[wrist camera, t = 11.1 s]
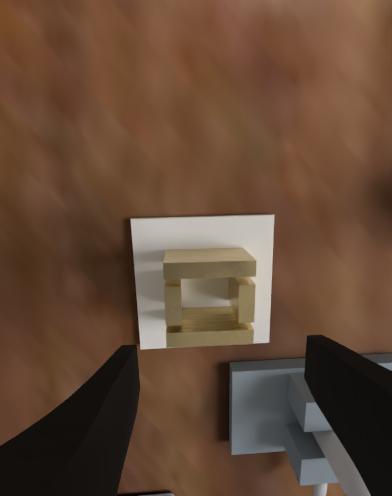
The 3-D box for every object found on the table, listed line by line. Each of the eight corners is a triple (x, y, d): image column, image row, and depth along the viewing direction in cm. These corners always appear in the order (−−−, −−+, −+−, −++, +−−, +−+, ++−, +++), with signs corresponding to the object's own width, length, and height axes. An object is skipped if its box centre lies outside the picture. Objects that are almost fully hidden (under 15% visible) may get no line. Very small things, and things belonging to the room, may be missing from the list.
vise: (228, 473, 25) (252, 612, 17) (229, 362, 22) (257, 462, 14) (376, 462, 25) (467, 589, 17) (394, 352, 23) (510, 443, 15)
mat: (141, 344, 21) (140, 349, 21) (132, 218, 19) (130, 219, 18) (266, 338, 22) (268, 342, 21) (271, 214, 19) (274, 214, 19)
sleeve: (168, 320, 20) (166, 347, 17) (166, 249, 19) (163, 262, 16) (241, 317, 20) (253, 344, 17) (243, 247, 19) (256, 260, 16)
